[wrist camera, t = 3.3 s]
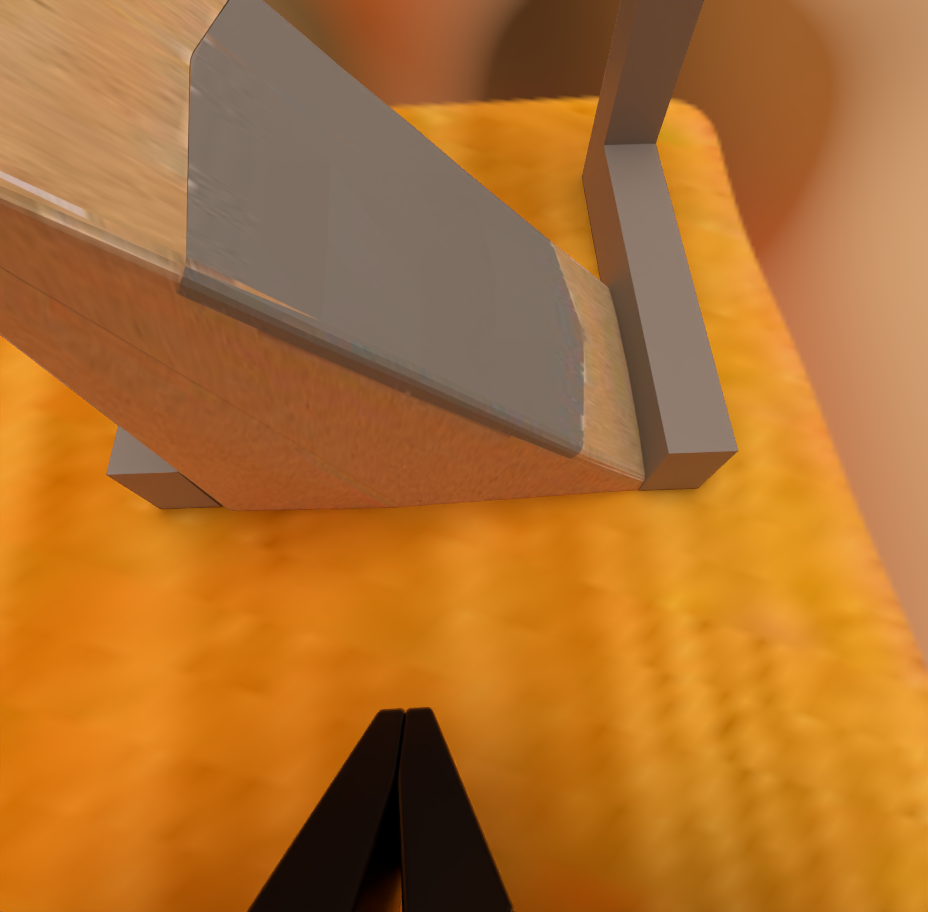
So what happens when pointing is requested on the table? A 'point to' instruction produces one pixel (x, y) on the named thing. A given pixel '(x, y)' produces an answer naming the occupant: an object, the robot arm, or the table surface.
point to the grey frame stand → (605, 272)
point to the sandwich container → (287, 272)
